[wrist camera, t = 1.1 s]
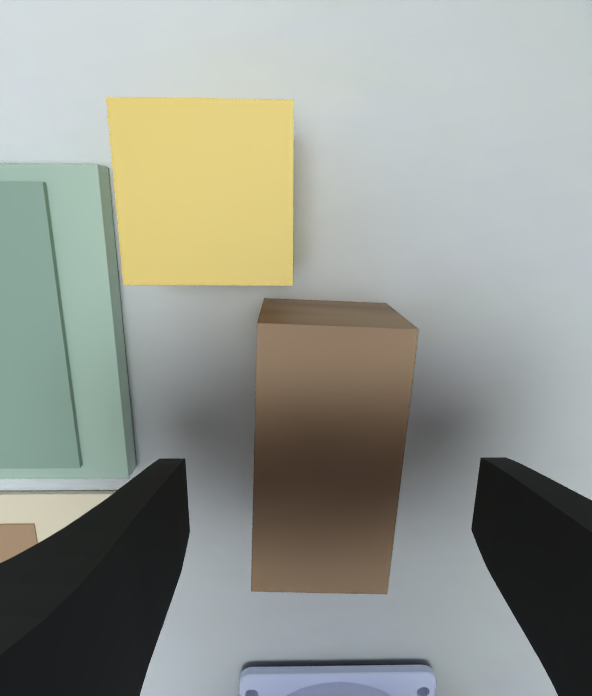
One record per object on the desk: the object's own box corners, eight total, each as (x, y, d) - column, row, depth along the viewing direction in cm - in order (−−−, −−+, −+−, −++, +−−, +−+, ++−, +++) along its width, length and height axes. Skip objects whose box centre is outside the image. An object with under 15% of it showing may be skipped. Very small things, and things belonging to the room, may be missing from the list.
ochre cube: (290, 269, 15) (292, 285, 11) (166, 268, 15) (123, 284, 11) (291, 134, 14) (293, 99, 10) (157, 132, 14) (106, 96, 10)
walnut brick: (364, 511, 17) (387, 594, 13) (259, 508, 17) (251, 591, 13) (384, 302, 15) (418, 329, 11) (264, 297, 15) (257, 323, 11)
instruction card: (163, 623, 18) (161, 628, 18) (-40, 625, 18) (-45, 631, 18) (152, 490, 17) (150, 494, 16) (-72, 491, 16) (-77, 495, 16)
